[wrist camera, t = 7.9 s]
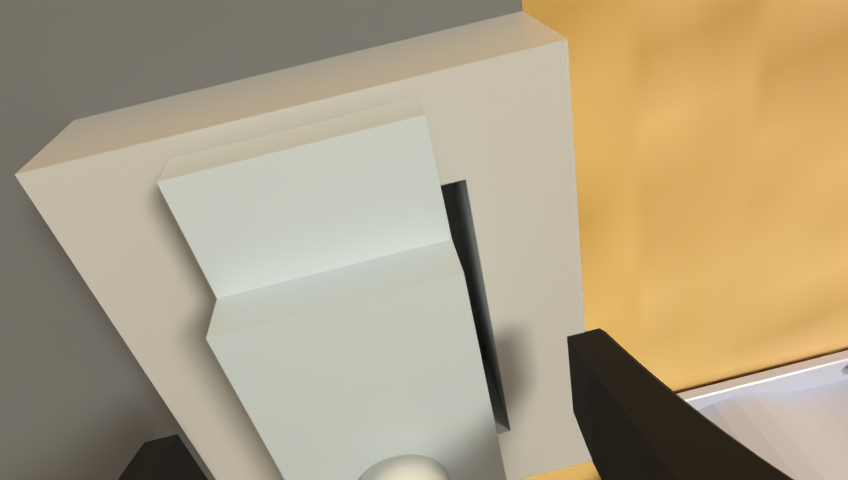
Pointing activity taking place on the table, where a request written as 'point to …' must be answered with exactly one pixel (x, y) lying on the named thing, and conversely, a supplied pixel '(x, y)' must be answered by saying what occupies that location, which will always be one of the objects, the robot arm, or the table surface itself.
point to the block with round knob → (341, 298)
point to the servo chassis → (235, 122)
